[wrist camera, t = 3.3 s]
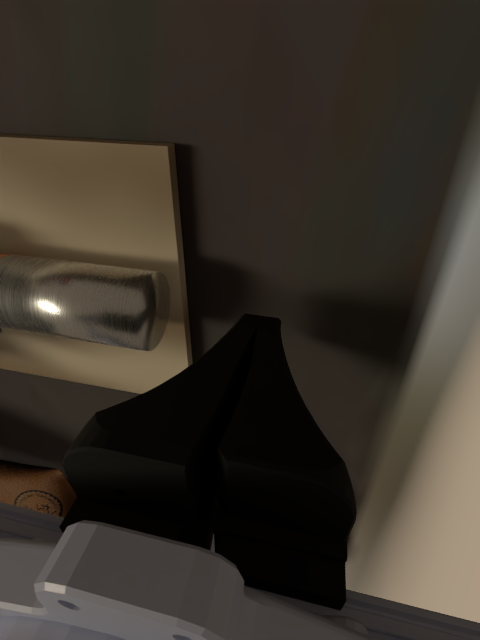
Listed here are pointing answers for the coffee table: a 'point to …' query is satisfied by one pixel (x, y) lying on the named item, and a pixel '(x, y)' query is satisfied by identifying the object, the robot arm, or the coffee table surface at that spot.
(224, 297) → the coffee table surface
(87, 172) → the base board
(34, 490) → the sunglasses case
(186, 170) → the coffee table surface
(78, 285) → the tube
